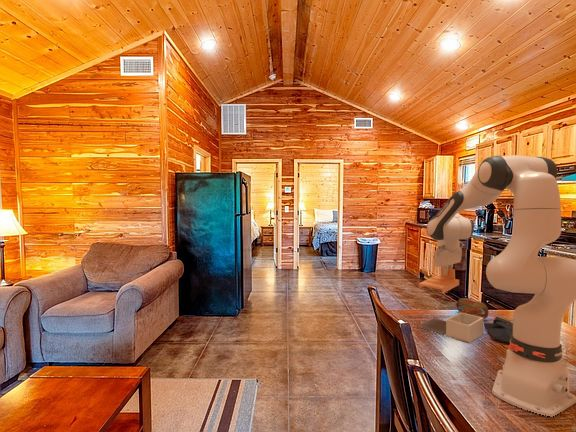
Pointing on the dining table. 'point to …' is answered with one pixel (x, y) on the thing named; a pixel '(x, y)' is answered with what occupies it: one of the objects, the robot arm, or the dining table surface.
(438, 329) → the mat
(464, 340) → the tub
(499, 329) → the dark slate chunk
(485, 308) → the brown arch piece
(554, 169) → the robot arm
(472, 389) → the dining table surface
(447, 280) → the lid
